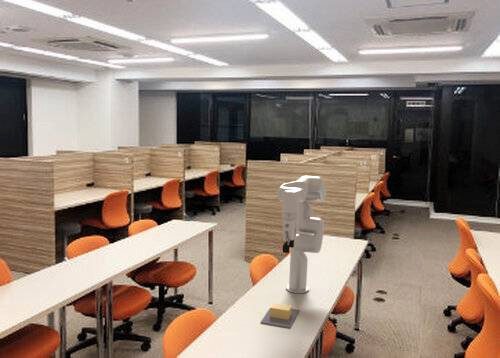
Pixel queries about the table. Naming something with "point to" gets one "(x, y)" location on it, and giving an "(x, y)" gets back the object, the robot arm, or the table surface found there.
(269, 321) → the mat
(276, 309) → the box
